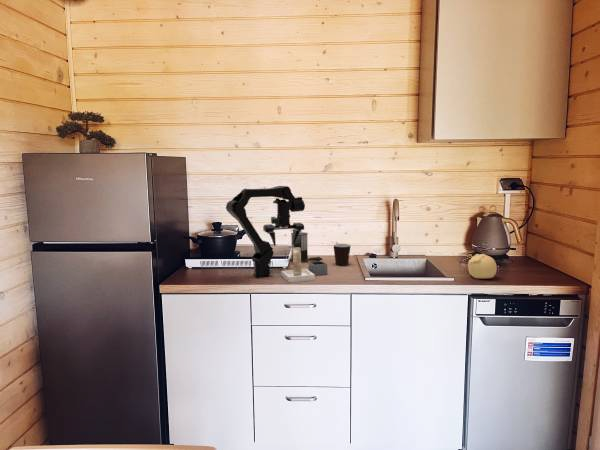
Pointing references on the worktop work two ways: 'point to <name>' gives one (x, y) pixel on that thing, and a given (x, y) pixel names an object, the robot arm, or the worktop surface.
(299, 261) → the maple pin
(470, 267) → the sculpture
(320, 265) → the pin cup
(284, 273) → the tray
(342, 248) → the black cup
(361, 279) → the worktop surface
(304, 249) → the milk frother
